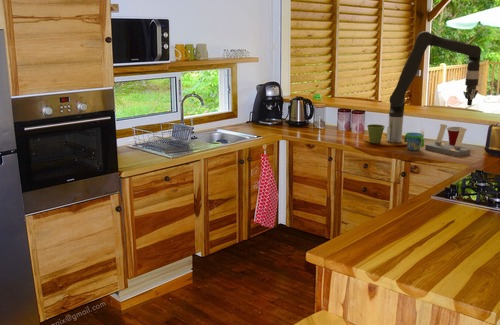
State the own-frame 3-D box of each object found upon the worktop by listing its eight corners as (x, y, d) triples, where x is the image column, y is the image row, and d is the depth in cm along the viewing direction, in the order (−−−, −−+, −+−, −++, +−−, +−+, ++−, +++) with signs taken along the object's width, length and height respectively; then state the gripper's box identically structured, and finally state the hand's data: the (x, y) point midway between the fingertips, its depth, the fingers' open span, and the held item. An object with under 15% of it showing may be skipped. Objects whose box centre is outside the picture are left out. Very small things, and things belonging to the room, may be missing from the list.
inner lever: (439, 144, 347) (445, 124, 347) (434, 143, 350) (440, 123, 349) (441, 145, 349) (447, 125, 348) (436, 144, 351) (442, 124, 351)
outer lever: (458, 148, 336) (464, 128, 335) (453, 147, 339) (459, 127, 338) (460, 149, 337) (466, 129, 337) (455, 148, 340) (461, 128, 340)
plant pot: (363, 143, 369) (364, 126, 366) (368, 139, 379) (369, 123, 376) (381, 145, 363) (382, 128, 361) (386, 141, 374) (387, 125, 371)
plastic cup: (441, 145, 363) (443, 127, 360) (454, 143, 367) (456, 125, 364) (452, 148, 353) (454, 130, 350) (466, 147, 357) (468, 128, 354)
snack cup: (428, 151, 345) (429, 135, 342) (414, 153, 341) (415, 137, 339) (412, 146, 359) (413, 131, 357) (399, 147, 356) (400, 132, 353)
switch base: (457, 156, 332) (458, 151, 331) (425, 149, 351) (425, 144, 350) (469, 154, 338) (470, 149, 338) (437, 146, 358) (437, 142, 357)
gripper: (472, 76, 353) (470, 103, 357) (460, 78, 345) (458, 105, 349) (483, 77, 347) (480, 105, 351) (471, 79, 339) (468, 107, 344)
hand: (469, 105), depth 350 cm, fingers closed
